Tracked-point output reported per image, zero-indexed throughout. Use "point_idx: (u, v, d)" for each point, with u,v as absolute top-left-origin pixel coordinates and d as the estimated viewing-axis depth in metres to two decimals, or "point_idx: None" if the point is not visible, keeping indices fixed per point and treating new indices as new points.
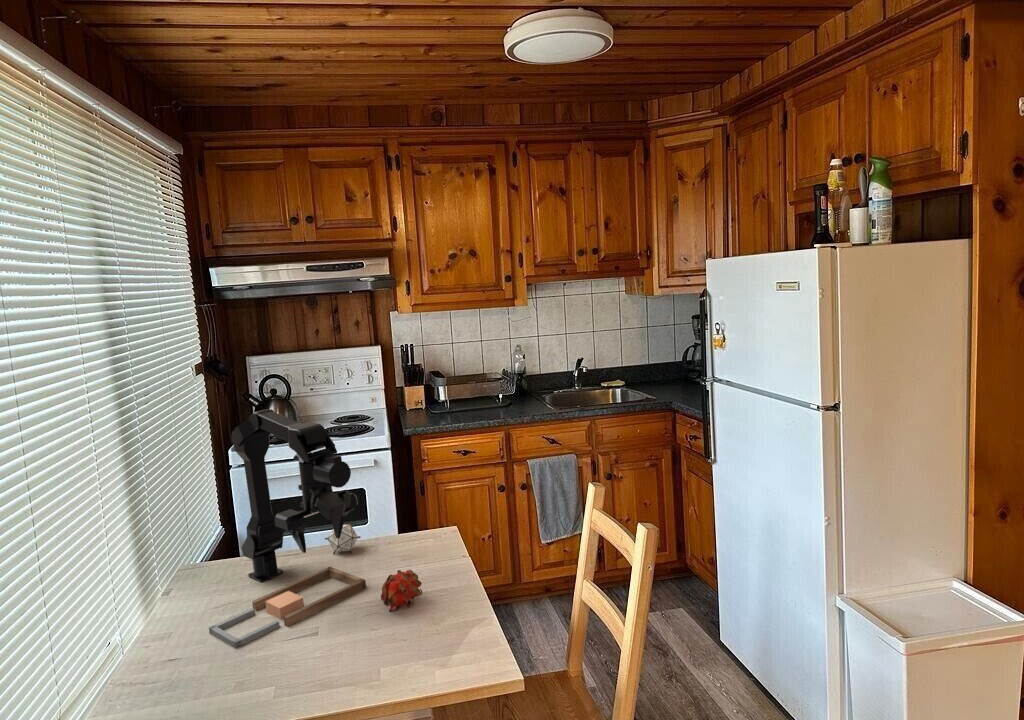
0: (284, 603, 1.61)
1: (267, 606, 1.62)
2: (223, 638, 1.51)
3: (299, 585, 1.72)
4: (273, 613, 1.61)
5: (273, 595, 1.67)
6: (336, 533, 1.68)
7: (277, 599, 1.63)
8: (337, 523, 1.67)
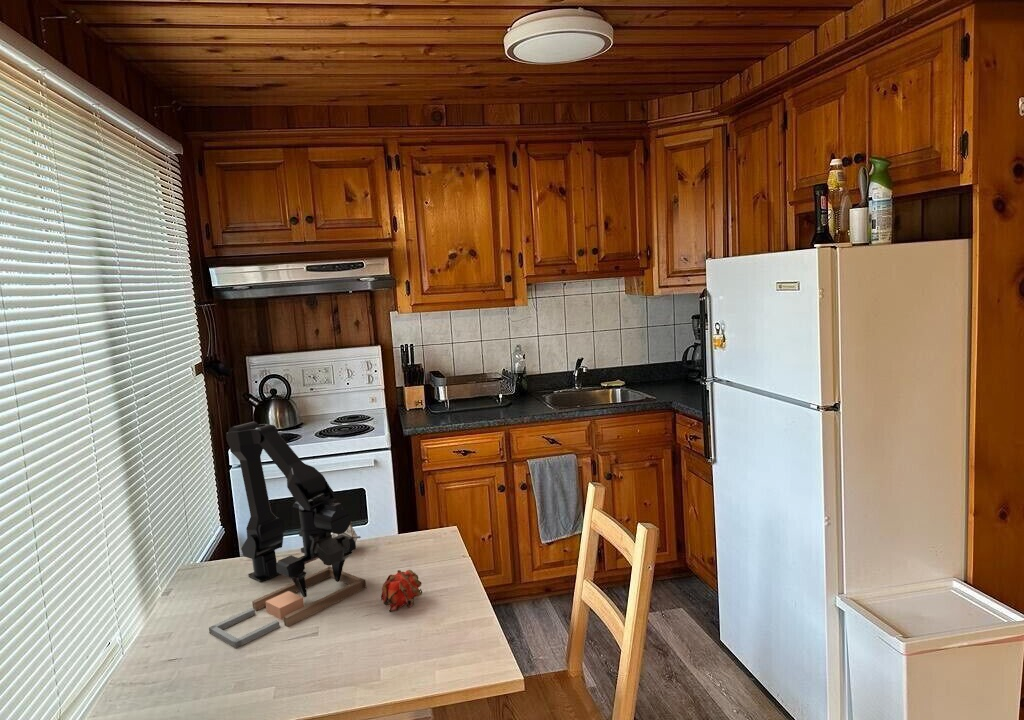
0: (284, 603, 1.61)
1: (267, 606, 1.62)
2: (223, 638, 1.51)
3: None
4: (273, 613, 1.61)
5: (273, 595, 1.67)
6: (336, 577, 1.73)
7: (277, 599, 1.63)
8: (336, 567, 1.73)
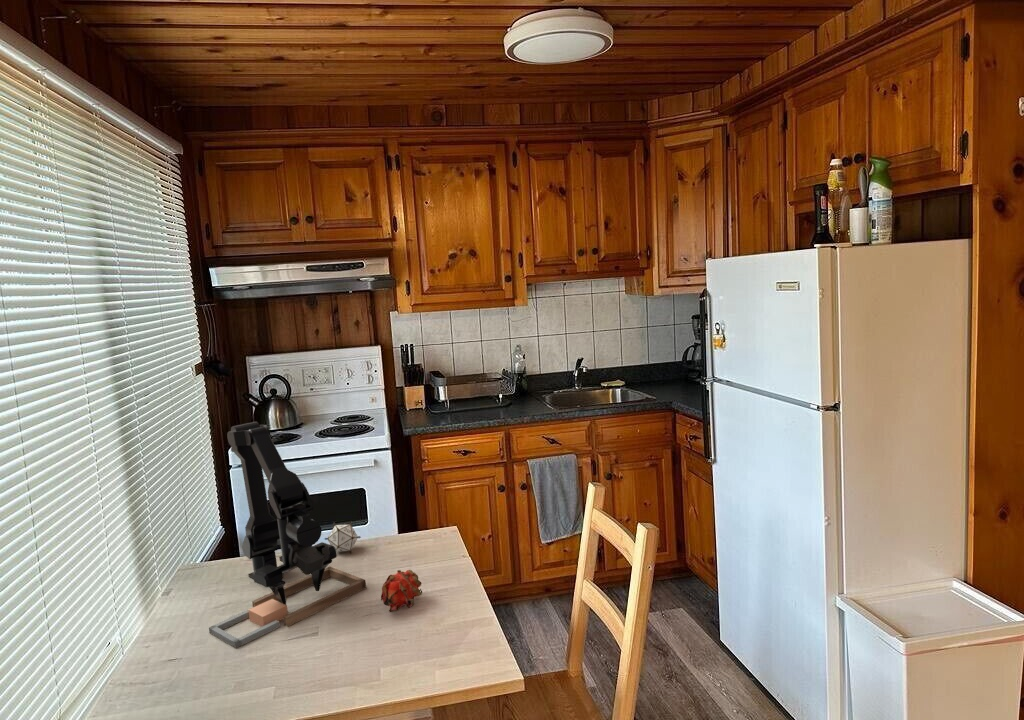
0: (267, 611, 1.57)
1: (250, 614, 1.59)
2: (223, 638, 1.51)
3: (299, 585, 1.72)
4: (256, 622, 1.58)
5: (273, 595, 1.67)
6: (315, 586, 1.69)
7: (260, 607, 1.60)
8: (316, 576, 1.68)
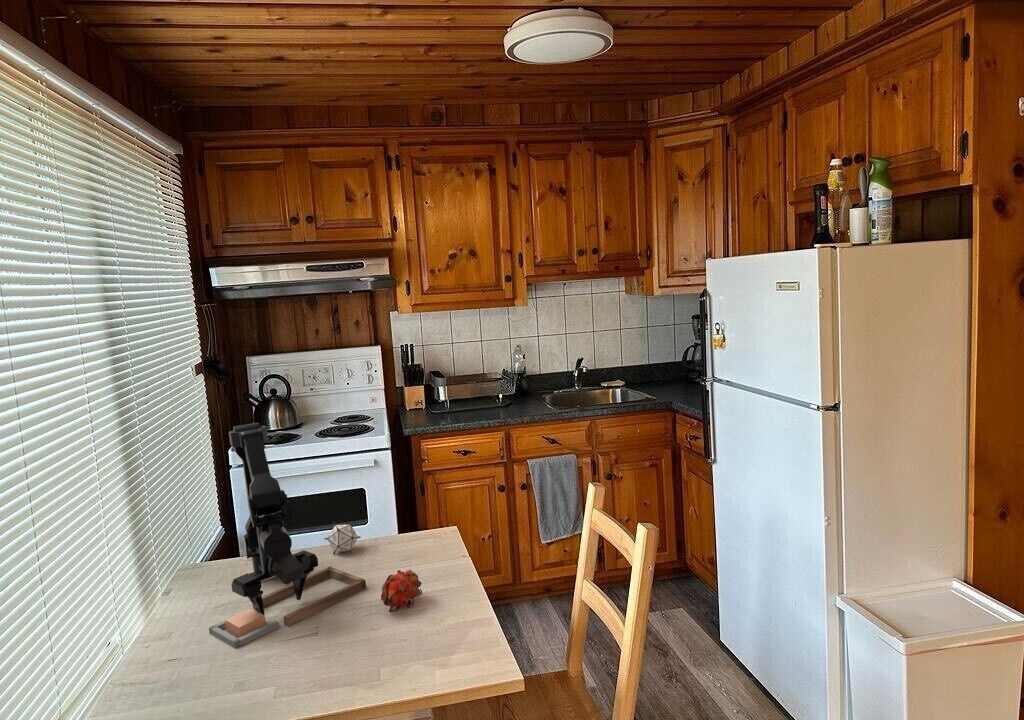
0: (244, 621, 1.53)
1: (227, 625, 1.55)
2: (223, 638, 1.51)
3: None
4: (232, 633, 1.54)
5: (273, 595, 1.67)
6: (297, 595, 1.65)
7: (237, 617, 1.56)
8: (297, 584, 1.65)
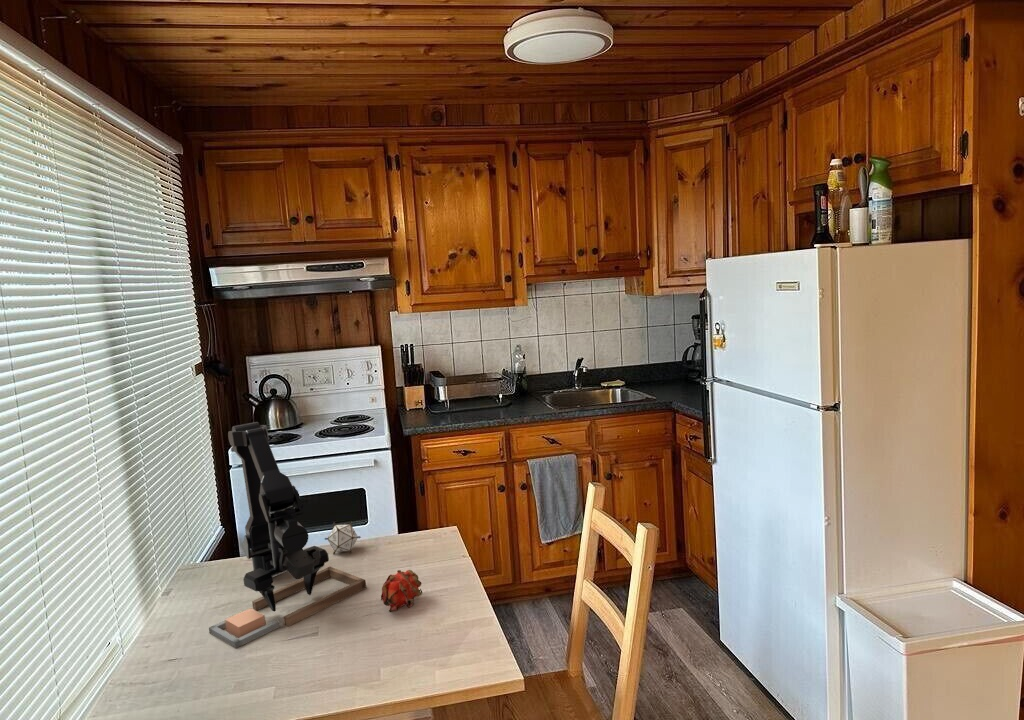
0: (244, 621, 1.53)
1: (227, 624, 1.55)
2: (223, 638, 1.51)
3: (299, 585, 1.72)
4: (232, 632, 1.54)
5: None
6: (307, 590, 1.67)
7: (237, 617, 1.56)
8: (308, 579, 1.67)
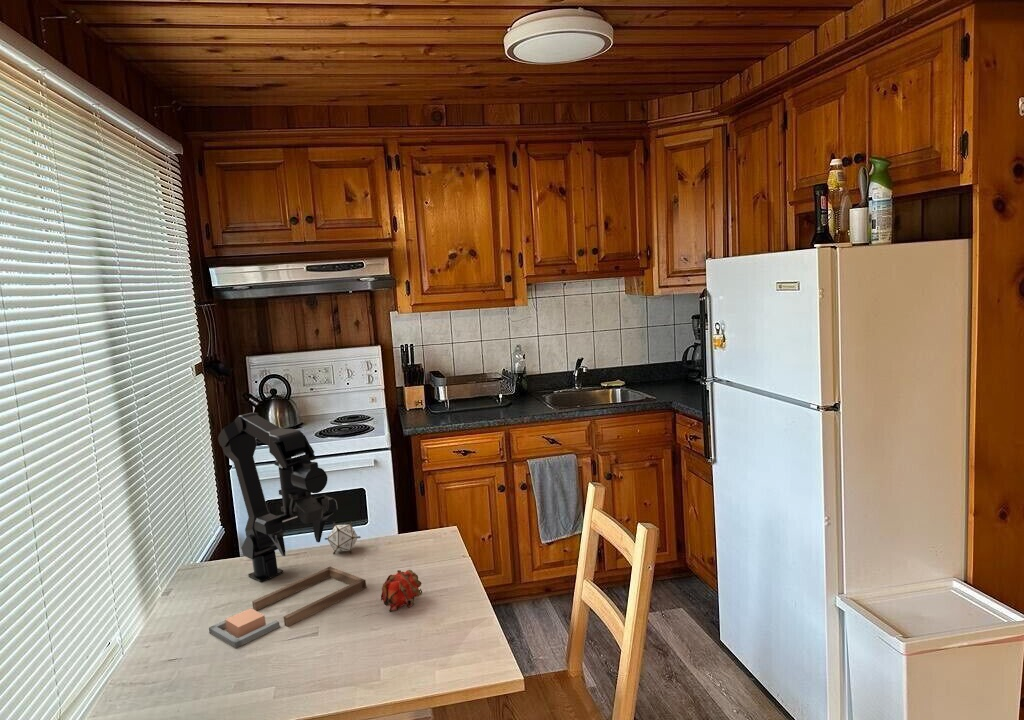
0: (244, 621, 1.53)
1: (227, 624, 1.55)
2: (223, 638, 1.51)
3: (299, 585, 1.72)
4: (232, 632, 1.54)
5: (273, 595, 1.67)
6: (316, 537, 1.72)
7: (237, 617, 1.56)
8: (317, 527, 1.71)
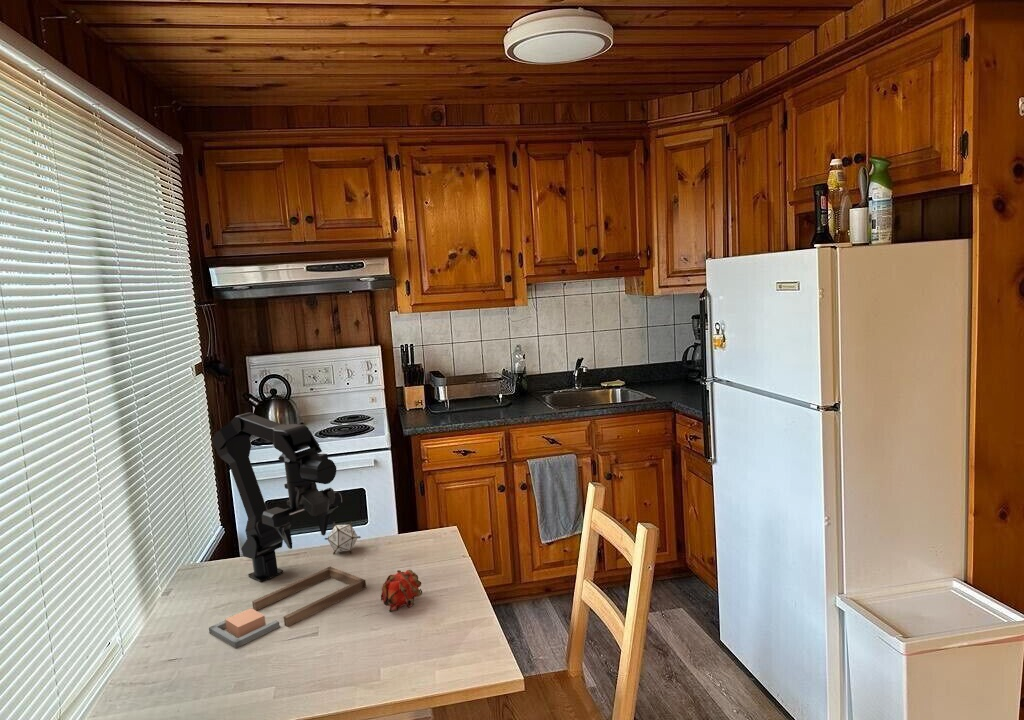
0: (244, 621, 1.53)
1: (227, 624, 1.55)
2: (223, 638, 1.51)
3: (299, 585, 1.72)
4: (232, 632, 1.54)
5: (273, 595, 1.67)
6: (322, 530, 1.74)
7: (237, 617, 1.56)
8: (322, 520, 1.74)
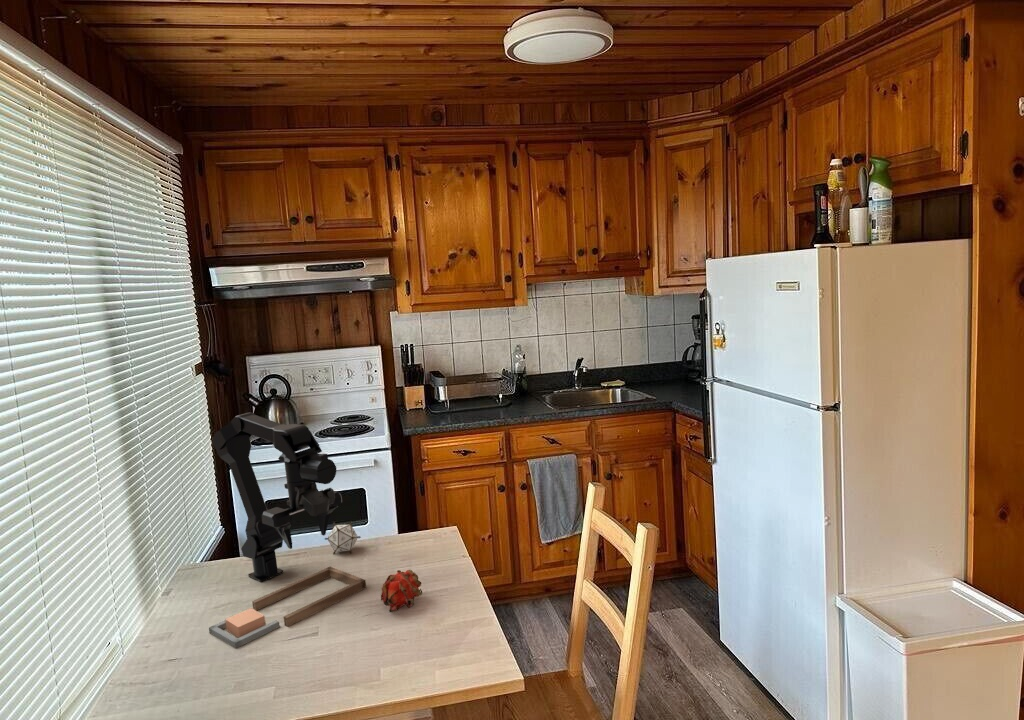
0: (244, 621, 1.53)
1: (227, 624, 1.55)
2: (223, 638, 1.51)
3: (299, 585, 1.72)
4: (232, 632, 1.54)
5: (273, 595, 1.67)
6: (322, 530, 1.74)
7: (237, 617, 1.56)
8: (322, 520, 1.74)
